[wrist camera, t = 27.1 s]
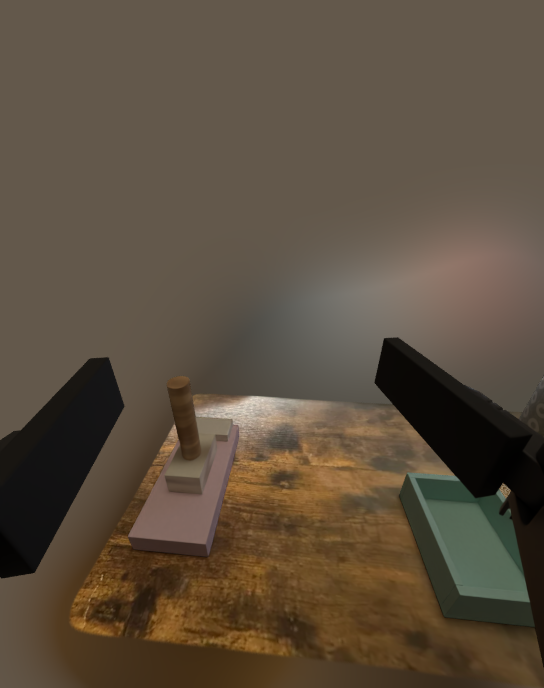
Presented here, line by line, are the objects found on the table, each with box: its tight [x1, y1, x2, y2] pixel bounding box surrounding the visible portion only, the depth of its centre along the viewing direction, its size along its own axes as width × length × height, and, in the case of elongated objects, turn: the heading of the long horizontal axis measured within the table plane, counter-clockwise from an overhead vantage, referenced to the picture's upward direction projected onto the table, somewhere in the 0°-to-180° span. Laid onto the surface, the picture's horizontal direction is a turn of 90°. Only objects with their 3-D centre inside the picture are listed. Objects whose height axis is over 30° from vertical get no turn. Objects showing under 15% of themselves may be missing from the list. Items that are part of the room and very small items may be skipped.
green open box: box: [399, 473, 535, 627], centre depth 32 cm, size 14×12×5 cm
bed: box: [128, 417, 239, 557], centre depth 41 cm, size 20×10×5 cm, turn 175°
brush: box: [164, 376, 217, 494], centre depth 37 cm, size 8×5×17 cm, turn 175°
